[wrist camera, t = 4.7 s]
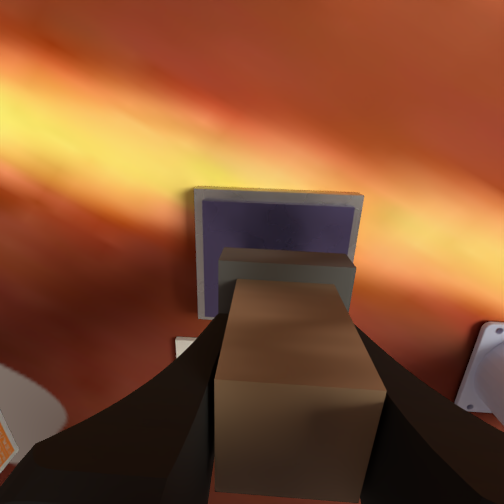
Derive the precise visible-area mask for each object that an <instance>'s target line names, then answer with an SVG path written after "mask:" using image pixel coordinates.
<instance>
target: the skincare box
mask: <svg viewBox="0 0 504 504" xmlns="http://www.w3.org/2000/svg"><path fill="white" fill-rule="evenodd" d="M18 451H19V447H18V445H17V444H16V442H15V440H14V438H13V435H12V434H11V431H10V429H9V427H8V425H7V423H6V421H5V418H4V416H3V414H2V412H1V410H0V473H1V472H2V471H3V469H4V468H5V467H6V466H7V464H8V463H9V462H10V461H11V460H12V458H13V457H14V456H15V454H17V452H18Z"/></svg>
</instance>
